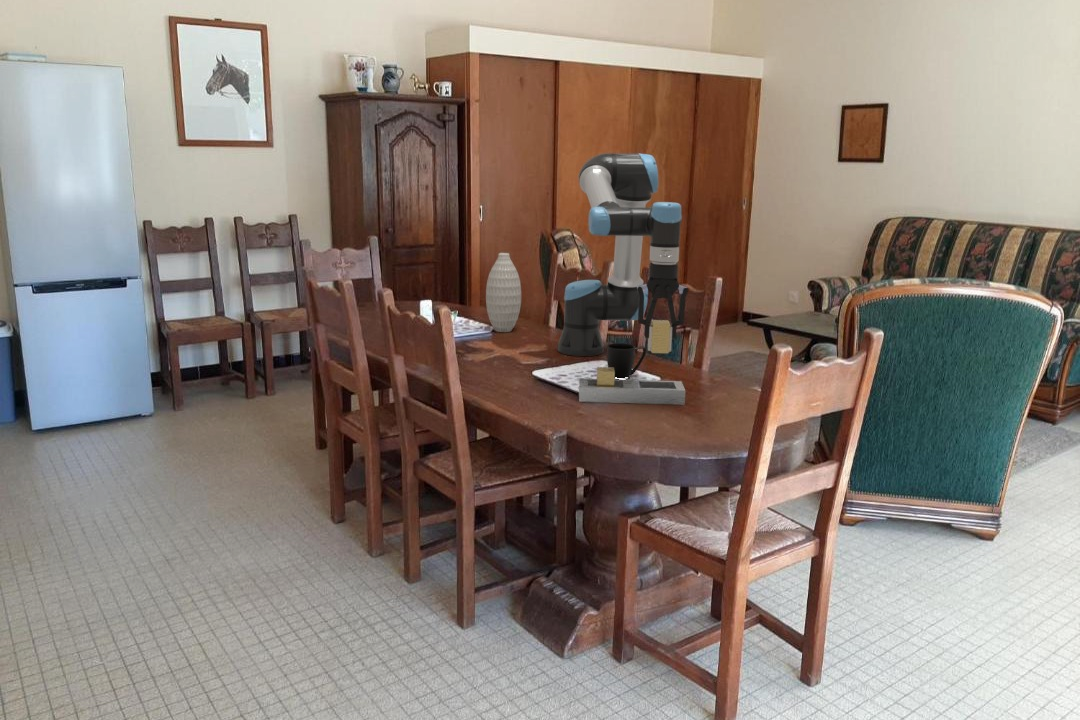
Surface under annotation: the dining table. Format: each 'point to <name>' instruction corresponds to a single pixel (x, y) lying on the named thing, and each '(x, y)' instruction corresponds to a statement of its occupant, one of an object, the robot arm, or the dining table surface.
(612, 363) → the mug
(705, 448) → the dining table surface
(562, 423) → the dining table surface
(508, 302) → the vase
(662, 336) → the yellow rectangular block
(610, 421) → the dining table surface
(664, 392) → the rail
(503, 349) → the dining table surface
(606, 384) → the tan wooden brick
